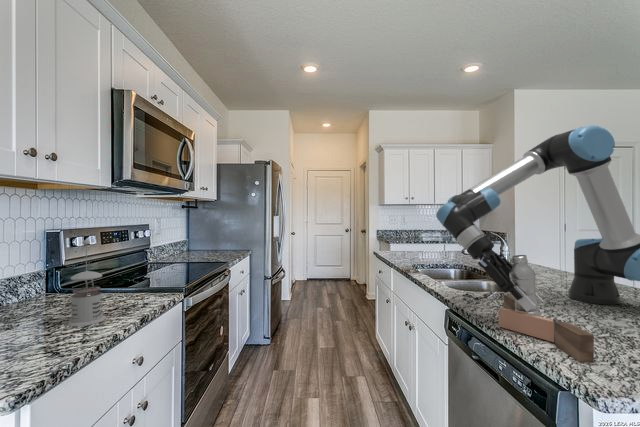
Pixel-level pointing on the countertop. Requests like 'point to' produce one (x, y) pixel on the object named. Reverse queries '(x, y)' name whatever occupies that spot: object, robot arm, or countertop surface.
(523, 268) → the plastic bottle
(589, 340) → the row of wooden blocks
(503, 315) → the gate
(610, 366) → the countertop surface
